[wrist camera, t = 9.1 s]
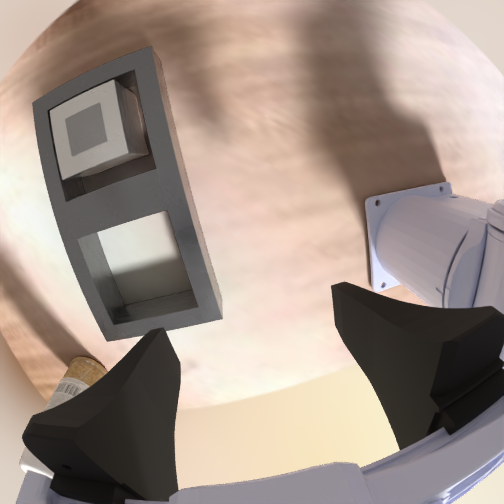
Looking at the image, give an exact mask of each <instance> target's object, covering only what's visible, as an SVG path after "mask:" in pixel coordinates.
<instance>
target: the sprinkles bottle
mask: <svg viewBox="0 0 504 504" xmlns="http://www.w3.org/2000/svg"><path fill="white" fill-rule="evenodd" d="M105 374H107V371H106V370H105V368H104V367H102V366H101V365H100V364H99V363H98V362H96V361H95V360H93V359H90V358H87V357H76V358H74V359H73V360H72V361H71V362H70V365H69V368H68V370H67V372H66V373H65V375H64V377H63V379H61V381H60V382H59V384H58V386H57V387H56V389H55V391H54V393H53V395H52V396H51V398H50V400H49V402H48V404H47V406H46V408H45V410H44V411H46V410H49V409H51V408H53V407H56V406H58V405H60V404H62V403H64V402H66V401H68V400H69V399H71V398H73V397H75V396H76V395H78V394H79V393H81V392H82V391H84V390H85V389H87V388H88V387H90V386H91V385H93V384H94V383H95V382H97V381H98V380H99V379H100V378H102V377H103V376H104V375H105ZM19 464H20V467H21V468H22V469H23V471H24V472H25V473H27V471H28V470H30V471H33V472H36V473H40V474H43V475H46V476H48V477H50V478H53V475H54V473H53V472H52V471H51V470H50V469H49V468H47V467H46V466H45V465H44V464H43V463H42V462H41V461H39V460H38V459H37V458H36V457H35V456H34V455H33V454H32V453H31V452H30V451H29V450H28V449H27V447H26V448H25V449H24V451H23V454H22V456H21V459H20V462H19Z"/></svg>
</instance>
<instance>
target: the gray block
mask: <svg viewBox="0 0 504 504" xmlns="http://www.w3.org/2000/svg"><path fill="white" fill-rule="evenodd" d="M50 117H51V124H52V131H53V137H54V142H55V148H56V153H57V158H58V163H59V167H60V172H61V176H62V180H66V179H71V178H77V177H82V176H88V175H94V174H96V173H98V172H101V171H104V170H106V169H109V168H111V167H114V166H117V165H119V164H122V163H125V162H128V161H130V160H133V159H136V158H139V157H142V156H145V155H148V150H147V145H146V141H145V137H144V132H143V128H142V123H141V119H140V114H139V109H138V104H137V99H136V95H135V94H133V93H132V92H131V91H129V90H128V89H126V88H125V87H124V86H122V85H121V84H120V83H118V82H117V81H115V80H112V81H109V82H107V83H104V84H102V85H100V86H98V87H95V88H93V89H91V90H89V91H87V92H85V93H83V94H81V95H79V96H77V97H75V98H73V99H71V100H69V101H67V102H65V103H63V104H61V105H59V106H58V107H56V108H54V109H52V110H50Z"/></svg>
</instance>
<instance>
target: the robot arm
mask: <svg viewBox="0 0 504 504" xmlns="http://www.w3.org/2000/svg"><path fill="white" fill-rule="evenodd" d="M440 188H441V190H440ZM376 200H378V205H375V202H376ZM365 210H366V219H367V229H368V239H369V251H370V266H371V286H372V289H373V290H374V291H375V292H380V291H382V290H385V289H388V288H391V287H394V286H397V285H399V284H402V285H403V286H404V287H406V288H407V289H408V290H410V291H411V292H412V293H413V294H415V295H416V296H417V297H418V298H420V299H421V300H422V301H423V302H425V303H426V304H427V305H428V306H422V305H417V304H412V303H407V302H403V301H399V300H396V299H392V298H389V297H386V296H383V295H380V294H377V293H374V292H372V291H369V290H366V289H364V288H361V287H359V286H356V285H353V284H350V283H347V282H341V283H338V284H335V285H331V289H332V298H333V308H334V319H335V326H336V328H337V330H338V332H339V334H340V336H341V338H342V340H343V342H344V344H345V345H346V347H347V348H348V350H349V351H350V353H351V354H352V356H353V357H354V359H355V360H356V362H357V363H358V364H359V366H360V367H361V369H362V370H363V372H364V373H365V375H366V376H367V378H368V379H369V381H370V383H371V384H372V386H373V388H374V390H375V392H376V394H377V396H378V398H379V400H380V402H381V405H382V407H383V409H384V411H385V413H386V416H387V418H388V420H389V423H390V425H391V428H392V430H393V432H394V435H395V437H396V440H397V443H398V446H399V449H400V451H399V452H396V453H394V454H392V455H390V456H388V457H386V458H383V459H381V460H379V461H376V462H374V463H371V464H369V465H366V466H364V467H361V468H360V467H359V466H358V465H357V464H355V463H347V462H333V463H329V464H324V465H319V466H313V467H310V468H306V469H302V470H299V471H295V472H290V473H286V474H281V475H277V476H272V477H267V478H262V479H256V480H250V481H243V482H235V483H227V484H218V485H207V486H197V487H191V488H184V489H181V490H178V483H177V475H176V466H175V444H174V443H175V442H174V431H175V419H176V412H177V405H178V398H179V390H180V383H181V368H180V361H179V359H178V357H177V355H176V353H175V351H174V349H173V347H172V344H171V342H170V340H169V338H168V336H167V333H166V331H165V329H164V327H162V328H157V329H152V330H150V331H149V332H148V333H146V334H145V335H144V336H143V337H142V338H141V339H140V341H139V342H138V343H137V344H136V345H135V346H134V347H133V348H132V349H131V350H130V351H129V352H128V353H127V354H126V355H125V356H124V357H123V358H122V359H121V360H120V361H119V362H118V363H117V364H116V365H115V366H114V367H113V368H112V369H111V370H110V371H109V372H108V373H107V374H105V375H104V376H103V377H102V378H100V379H99V380H98V381H97V382H95V383H94V384H93V385H91V386H90V387H88V388H87V389H85V390H84V391H82V392H81V393H79V394H78V395H76V396H75V397H73V398H71V399H69V400H68V401H66V402H64V403H62V404H60V405H58V406H56V407H53V408H51V409H49V410H46V411H44V412H41V413H38V414H36V415H33V416H32V418H31V419H30V421H29V423H28V425H27V427H26V429H25V431H24V433H23V435H22V439H23V442H24V444H25V446H26V447H27V449H28V450H29V451H30V452H31V453H32V454H33V455H34V456H35V457H36V458H37V459H38V460H39V461H41V462H42V463H43V464H44V465H45V466H46V467H47V468H49V469H50V470H51V471H52V472H53V473H54V475H53V478H50V477H48V476H46V475H43V474H40V473H36V472H33V471H30V470H28V471H27V473H26V475H25V478H24V481H23V484H22V486H21V489H20V492H19V495H18V498H17V501H16V504H451V503H453V502H454V501H456V500H457V499H458V498H460V497H461V496H463V495H464V494H466V493H467V492H468V491H470V490H471V489H472V488H474V487H475V486H476V485H477V484H479V483H480V482H481V481H482V480H484V479H485V478H486V477H487V476H488V475H490V474H491V473H492V472H493V471H494V470H495V469H497V467H499V466H500V465H501V464H502V463H503V462H504V199H503V200H497V201H496V202H495V203H494V204H490V203H486V202H483V201H479V200H476V199H472V198H468V197H464V196H460V195H456V194H452V185H451V183H450V182H442V183H436V184H431V185H426V186H421V187H416V188H411V189H406V190H401V191H396V192H392V193H387V194H382V195H377V196H373V197H369V198H367V199H366V201H365ZM382 283H384V284H383V285H382V286H381V284H382ZM429 306H430V307H429Z"/></svg>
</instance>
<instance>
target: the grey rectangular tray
mask: <svg viewBox="0 0 504 504" xmlns="http://www.w3.org/2000/svg"><path fill="white" fill-rule="evenodd" d="M112 80H115V81H117V82H118V83H120V84H121V85H122V86H124V87H125V88H126V89H128V88H130V87H133V86H136V85H138V90H139V95H140V100H141V105H142V110H143V114H144V119H145V123H146V128H147V132H148V137H149V141H150V145H151V149H152V153H153V157H154V161H155V165H156V169H154V170H151V171H148V172H145V173H141V174H139V175H136V176H133V177H130V178H127V179H124V180H121V181H118V182H116V183H113V184H110V185H108V186H105V187H102V188H100V189H97V190H95V191H92V192H90V193H87V194H85V192H84V188H83V184H82V180H81V177H77V178H71V179H66V180H62V176H61V172H60V167H59V163H58V158H57V153H56V148H55V142H54V137H53V131H52V124H51V117H50V110H52V109H54V108H56V107H58V106H59V105H61V104H63V103H65V102H67V101H69V100H71V99H73V98H75V97H77V96H79V95H81V94H83V93H85V92H87V91H89V90H91V89H93V88H95V87H98V86H100V85H102V84H104V83H107V82H109V81H112ZM32 104H33V114H34V122H35V130H36V137H37V143H38V149H39V154H40V159H41V164H42V169H43V174H44V178H45V182H46V186H47V190H48V194H49V198H50V202H51V205H52V209H53V212H54V216H55V219H56V222H57V225H58V229H59V232H60V235H61V238H62V241H63V244H64V246H65V249H66V252H67V255H68V257H69V260H70V263H71V265H72V268H73V270H74V273H75V275H76V278H77V280H78V282H79V285H80V287H81V289H82V292H83V294H84V296H85V298H86V301H87V303H88V305H89V307H90V309H91V311H92V313H93V316H94V318H95V320H96V322H97V324H98V326H99V328H100V330H101V331H102V333H103V335H104V337H105V339H106V341H107V342H108V341H115V340H120V339H126V338H132V337H138V336H143V335H145V334H146V333H148V332H149V331H150V330H152V329H157V328H162V327H164V329H165V331H169V330H174V329H179V328H184V327H188V326H193V325H198V324H202V323H207V322H211V321H215V320H220V319H223V315H222V296H221V293H220V290H219V287H218V283H217V280H216V277H215V273H214V270H213V267H212V263H211V260H210V257H209V253H208V250H207V246H206V243H205V239H204V236H203V232H202V229H201V225H200V222H199V218H198V214H197V211H196V207H195V203H194V200H193V196H192V192H191V188H190V184H189V181H188V177H187V173H186V169H185V165H184V161H183V157H182V153H181V149H180V145H179V141H178V137H177V132H176V128H175V124H174V120H173V115H172V111H171V106H170V102H169V97H168V93H167V88H166V83H165V79H164V74H163V69H162V64H161V61H160V59H159V57H158V56H157V54H156V53H155V51H154V49H153V48H152V46H150V47H147V48H144V49H141V50H139V51H136V52H133V53H130V54H128V55H125V56H123V57H120V58H118V59H115V60H113V61H110V62H108V63H106V64H103V65H101V66H99V67H97V68H95V69H92V70H90V71H88V72H86V73H84V74H82V75H80V76H78V77H76V78H74V79H72V80H70V81H68V82H67V83H65V84H63V85H61V86H59V87H58V88H56V89H54V90H52V91H51V92H49V93H47V94H46V95H44V96H42V97H41V98H39V99H38V100H36V101H34V102H33V103H32ZM166 210H168V213H169V217H170V220H171V224H172V227H173V230H174V234H175V237H176V240H177V243H178V247H179V250H180V253H181V256H182V259H183V262H184V265H185V268H186V271H187V274H188V277H189V280H190V283H191V286H192V289H193V290H189V291H185V292H181V293H177V294H172V295H168V296H164V297H159V298H155V299H151V300H146V301H142V302H138V303H133V304H129V305H125V304H124V302H123V300H122V298H121V295H120V293H119V291H118V288H117V286H116V283H115V281H114V278H113V276H112V273H111V271H110V268H109V266H108V263H107V260H106V257H105V255H104V252H103V249H102V246H101V244H100V241H99V238H98V235H97V232H99V231H102V230H105V229H108V228H111V227H114V226H117V225H120V224H123V223H126V222H129V221H133V220H136V219H139V218H142V217H145V216H149V215H152V214H155V213H159V212H162V211H166Z"/></svg>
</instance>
